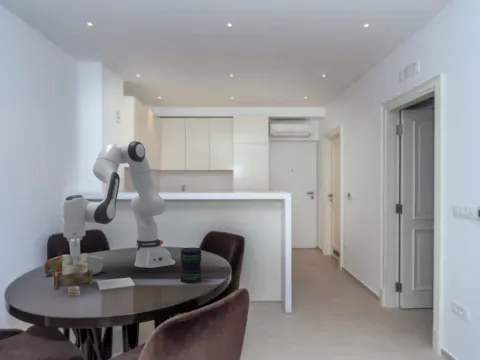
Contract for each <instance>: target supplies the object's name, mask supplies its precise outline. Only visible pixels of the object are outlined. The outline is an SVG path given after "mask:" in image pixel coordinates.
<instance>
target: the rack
mask: <svg viewBox="0 0 480 360" xmlns="http://www.w3.org/2000/svg"><path fill="white" fill-rule="evenodd" d="M78 284H88V285H89V287H92V286H93V275H92V269H87V272H82V273H73V274H64V275H62V272H54V276H53V287H54V291H55V290H56V291H57V290H58V288H59V287H60V286H61V287H62V286H71V285H78Z"/></svg>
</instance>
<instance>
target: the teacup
mask: <svg viewBox="0 0 480 360" xmlns="http://www.w3.org/2000/svg"><path fill="white" fill-rule="evenodd" d="M103 267H104V257H102V256H98V255H97V256H95V255H91V256H87V269H92V276H94V275H98V274H99V273H100V272H102V270H103Z"/></svg>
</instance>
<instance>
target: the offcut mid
mask: <svg viewBox="0 0 480 360" xmlns="http://www.w3.org/2000/svg"><path fill="white" fill-rule="evenodd" d="M79 291H80V290H79ZM79 291H73V292H70V291H69V289H67V293H68V294H69V295H73V294H79Z"/></svg>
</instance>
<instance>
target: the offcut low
mask: <svg viewBox="0 0 480 360" xmlns="http://www.w3.org/2000/svg"><path fill="white" fill-rule="evenodd" d="M80 295H81V291H80V290H79V294H73V295H69V294H68V295H67V296H68V297H74V296H80Z"/></svg>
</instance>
